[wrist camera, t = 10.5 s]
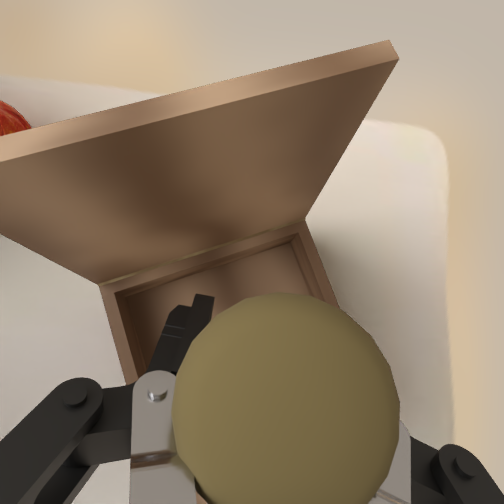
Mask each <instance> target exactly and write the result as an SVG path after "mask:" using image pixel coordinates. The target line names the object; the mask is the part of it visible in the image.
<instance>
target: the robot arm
mask: <svg viewBox="0 0 504 504" xmlns="http://www.w3.org/2000/svg"><path fill="white" fill-rule="evenodd" d="M214 300H215V297H213V296H207V295H202V294H197V293H196V294H195V297H194V300H193V303H192V306H191V307H190V306H185V305H177V306H176V307H175V308H174V309H173V310H172V311H171V312H170V313H169V315H168V318H167V320H166V323H165V326H164V328H163V330H162V333H161V336H160V338H159V341H158V343H157V346H156V348H155V351H154V354H153V356H152V359H151V361H150V364H149V366H148V369H147V371H146V372H145V374H144V375H143V376H141V377H140V378H139V379H138V380H137V381H135V382H134V383H131V384H129V385H126V386H121V387H113V388H104V389H102V388H101V386H100V385H99V384H98V383H97V382H96V381H94V380H92V379H89V378H74V379H70V380H67V381H65V382H63V383H61V384H60V385H58V386H57V387H56V388H55V389H54V390H53V391H52V392H51V393H50V394H49V395H48V396H47V397H46V398H45V399H43V400H42V401H41V402H40V403H39V404H38V405H37V406H36V407H35V408H34V409H33V410H32V411H31V412H30V413H29V414H28V415H27V416H26V417H25V418H24V419H23V420H22V421H21V422H20V423H19V424H18V425H17V426H16V427H15V428H14V429H13V430H12V431H11V432H10V433H8V434H7V435H6V436H5V437H4V438H3V439H2V440H1V441H0V504H71V503H72V501H73V500H74V499H75V497H76V496H77V495H78V493H79V492H80V490H81V489H82V488H83V486H84V485H85V484H86V482H87V481H88V479H89V478H90V477H91V475H92V474H93V473H94V471H95V470H96V468H97V467H98V466H99V464H102V463H108V462H113V461H119V460H124V459H130V458H131V464H130V496H129V504H197V501H196V491H195V482H194V474H193V473H192V472H191V470H190V469H189V467H188V466H187V465H186V464H185V463H184V461H183V460H182V459H181V458H180V457H179V454H178V452H177V449H176V442H175V436H174V429H173V423H172V416H171V409H172V402H173V395H174V388H175V381H176V375H177V372H178V370H179V368H180V366H181V364H182V362H183V360H184V358H185V355H186V353H187V351H188V349H189V347H190V345H191V343H192V341H193V340H194V339H195V338H196V337H197V336H198V334H199V333H200V332H201V331H202V330H203V329H204V328H205V327H206V326H207V325H208V324H209V322H210V321H211V317H212V312H213V306H214ZM368 504H504V495H503V493H502V492H501V491H500V489H499V488H498V486H497V485H496V483H495V482H494V480H493V479H492V478H491V476H490V475H489V473H488V472H487V471H486V469H485V468H484V466H483V465H482V464H481V462H480V461H479V460H478V459H477V458H476V457H475V456H474V455H473V454H472V453H470V452H469V451H468V450H466V449H464V448H462V447H460V446H458V445H454V444H447V445H444V446H443V447H442V448H441V449H440V450H437V449H435V448H432V447H430V446H428V445H426V444H424V443H422V442H420V441H418V440H416V439H414V438H413V437H411V436H410V435H409V432H408V430H407V428H406V427H405V425H404V424H403V423H402V422H401V421H400V420H399V442H398V445H397V448H396V451H395V454H394V458H393V461H392V464H391V467H390V470H389V474H388V476H387V478H386V479H385V481H384V482H383V484H382V485H381V486H380V488H379V489H378V491H377V492H376V494H375V495H374V496H373V498H372V499H371V500H370V502H369V503H368Z"/></svg>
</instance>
